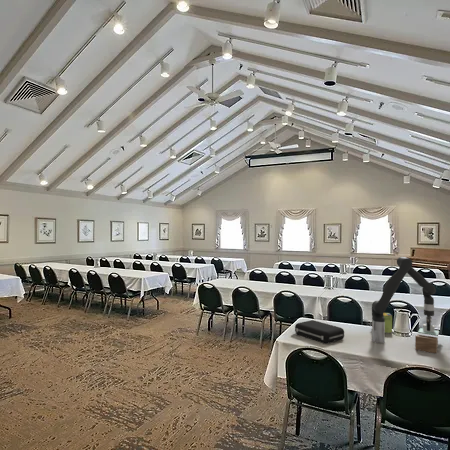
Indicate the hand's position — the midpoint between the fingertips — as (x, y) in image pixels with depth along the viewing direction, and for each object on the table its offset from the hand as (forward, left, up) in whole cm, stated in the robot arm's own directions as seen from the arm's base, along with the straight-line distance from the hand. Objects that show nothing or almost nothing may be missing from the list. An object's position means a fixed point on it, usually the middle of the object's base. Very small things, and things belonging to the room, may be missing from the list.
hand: (428, 330), depth 293 cm
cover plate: (0, 0, -2) cm, 2 cm away
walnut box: (-13, -15, -10) cm, 22 cm away
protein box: (-22, +34, -10) cm, 42 cm away
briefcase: (-84, +22, -11) cm, 87 cm away
